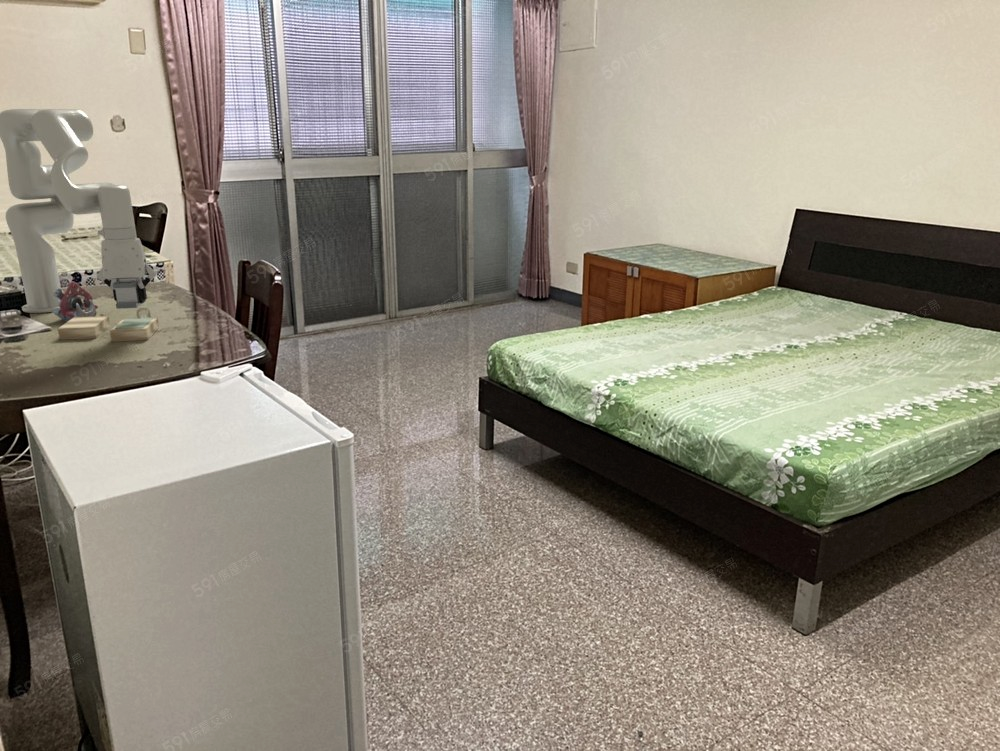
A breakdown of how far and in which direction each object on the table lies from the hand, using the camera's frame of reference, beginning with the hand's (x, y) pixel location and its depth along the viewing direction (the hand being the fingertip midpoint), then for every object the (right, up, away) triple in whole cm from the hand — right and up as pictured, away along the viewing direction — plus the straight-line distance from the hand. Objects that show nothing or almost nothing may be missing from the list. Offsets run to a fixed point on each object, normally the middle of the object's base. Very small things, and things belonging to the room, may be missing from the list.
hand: (131, 302), depth 203 cm
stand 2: (0, -8, +3) cm, 9 cm away
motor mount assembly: (-25, -3, +19) cm, 31 cm away
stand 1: (-15, -8, +4) cm, 17 cm away
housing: (0, -1, 0) cm, 1 cm away
